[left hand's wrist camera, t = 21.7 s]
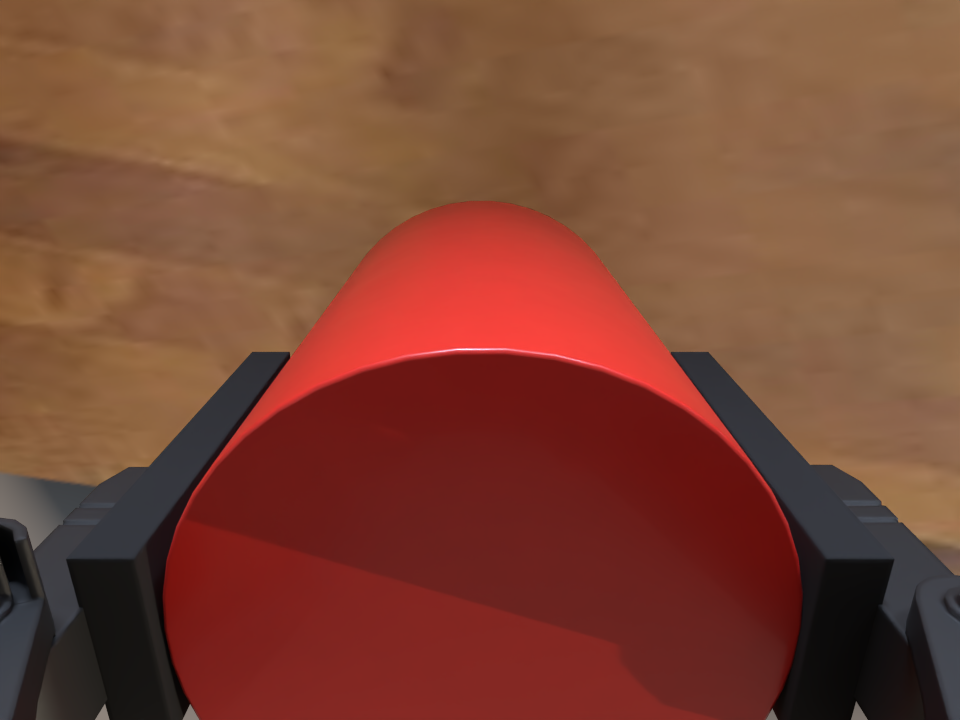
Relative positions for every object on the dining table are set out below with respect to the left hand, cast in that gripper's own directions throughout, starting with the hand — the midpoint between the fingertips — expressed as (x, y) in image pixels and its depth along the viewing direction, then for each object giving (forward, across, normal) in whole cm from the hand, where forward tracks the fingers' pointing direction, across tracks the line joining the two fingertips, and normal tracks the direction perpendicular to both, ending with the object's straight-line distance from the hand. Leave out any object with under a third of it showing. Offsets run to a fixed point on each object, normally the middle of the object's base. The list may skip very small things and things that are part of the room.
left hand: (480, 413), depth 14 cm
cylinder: (+4, 0, 0) cm, 4 cm away
